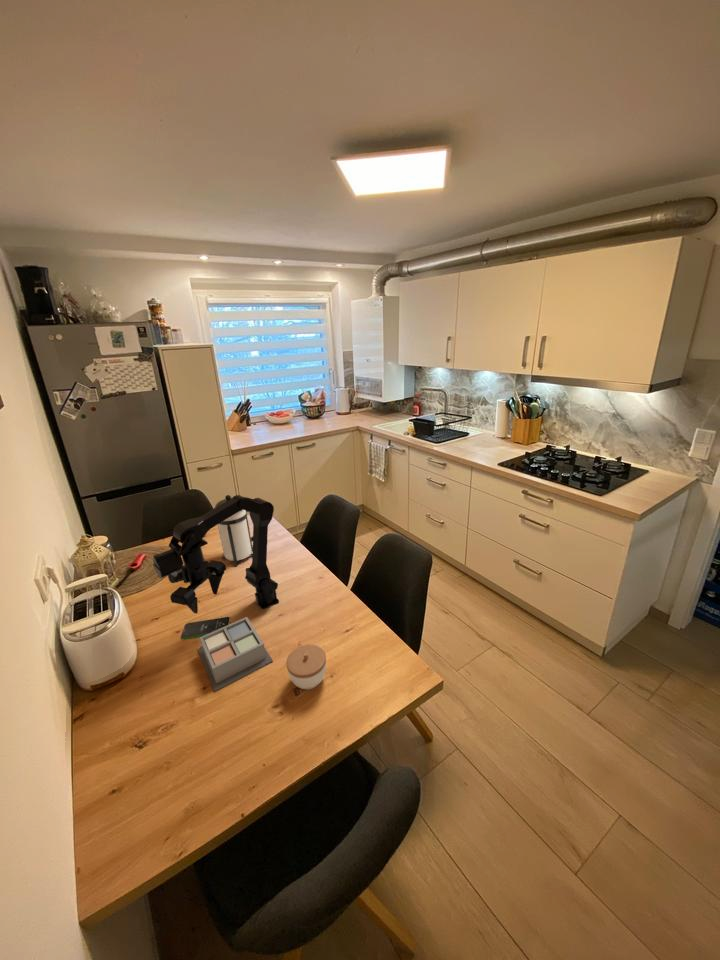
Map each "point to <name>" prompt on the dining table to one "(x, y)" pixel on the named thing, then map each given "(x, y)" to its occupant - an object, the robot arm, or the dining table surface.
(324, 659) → the lidded jar
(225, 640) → the key cream
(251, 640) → the key sage
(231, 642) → the keypad base
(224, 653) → the key terracotta
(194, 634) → the smartphone
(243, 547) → the coffee press
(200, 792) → the dining table surface
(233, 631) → the key slate
